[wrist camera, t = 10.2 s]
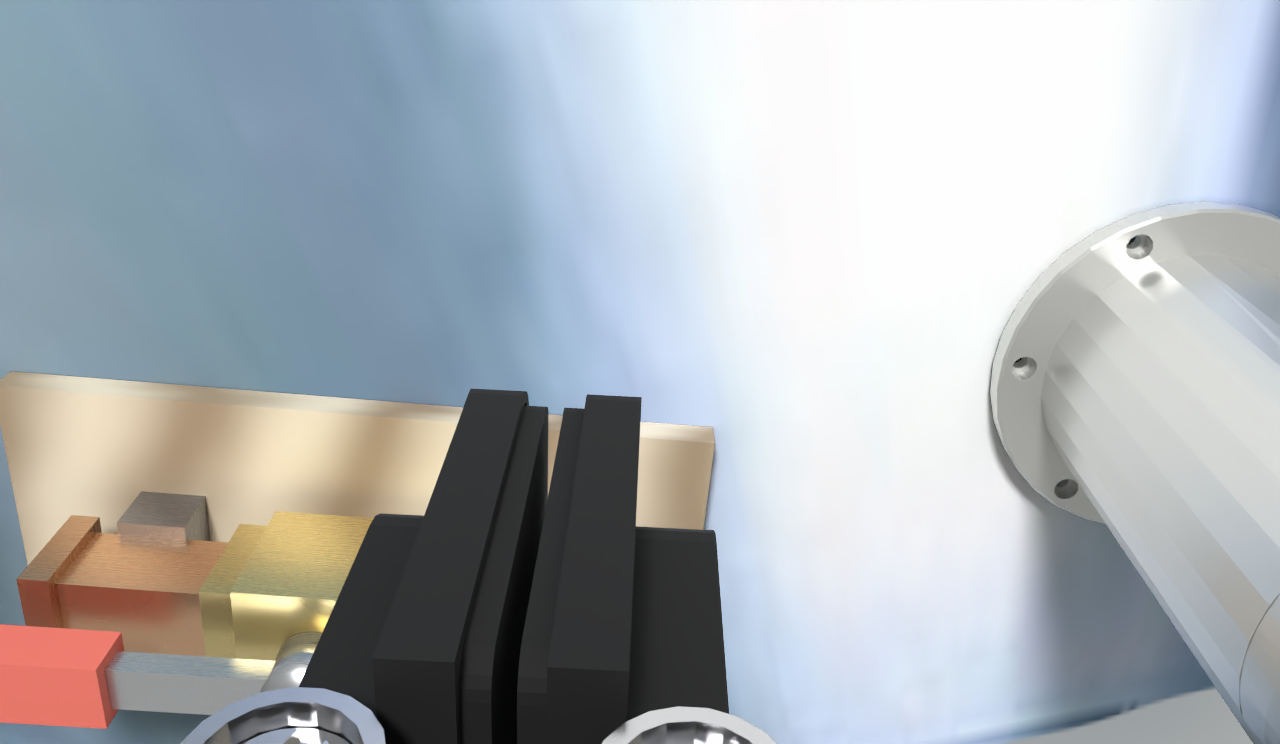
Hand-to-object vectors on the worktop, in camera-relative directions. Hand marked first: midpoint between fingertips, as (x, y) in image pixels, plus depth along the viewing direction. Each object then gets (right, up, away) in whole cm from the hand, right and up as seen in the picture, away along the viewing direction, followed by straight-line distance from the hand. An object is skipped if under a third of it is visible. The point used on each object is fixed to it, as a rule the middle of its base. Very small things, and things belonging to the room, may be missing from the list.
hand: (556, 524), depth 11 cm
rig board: (-10, -5, +32) cm, 34 cm away
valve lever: (-16, -8, +25) cm, 31 cm away
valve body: (-10, -5, +31) cm, 33 cm away
